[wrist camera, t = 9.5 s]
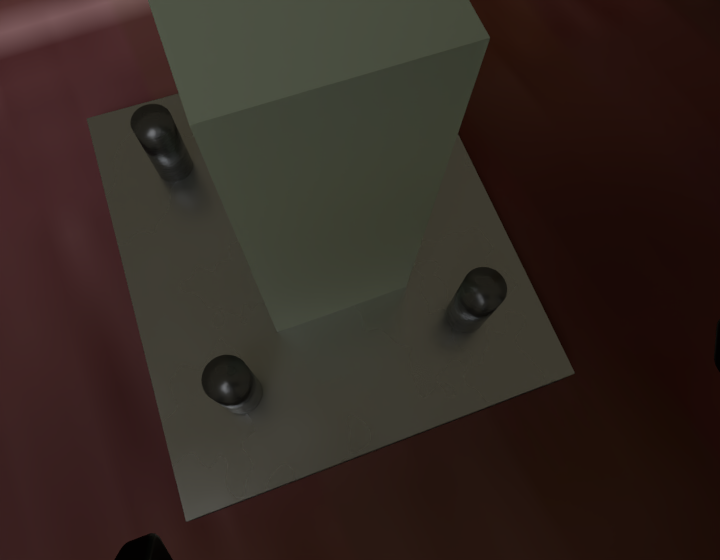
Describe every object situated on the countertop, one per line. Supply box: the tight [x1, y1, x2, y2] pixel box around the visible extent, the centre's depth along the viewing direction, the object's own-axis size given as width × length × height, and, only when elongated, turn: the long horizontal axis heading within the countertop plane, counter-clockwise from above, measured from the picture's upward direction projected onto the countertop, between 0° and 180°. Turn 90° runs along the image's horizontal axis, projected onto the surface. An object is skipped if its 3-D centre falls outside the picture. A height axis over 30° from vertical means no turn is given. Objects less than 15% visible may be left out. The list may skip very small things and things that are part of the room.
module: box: [148, 0, 490, 332], centre depth 16 cm, size 6×5×12 cm
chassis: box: [87, 94, 575, 522], centre depth 21 cm, size 16×14×4 cm
